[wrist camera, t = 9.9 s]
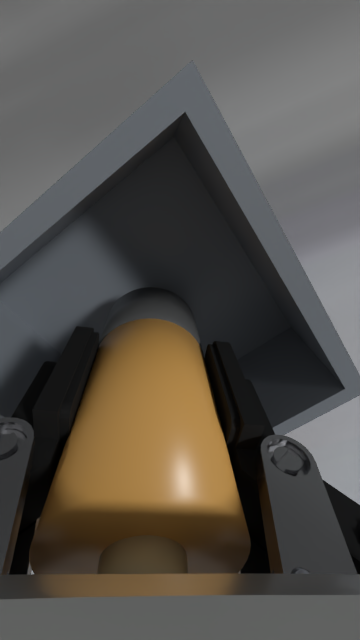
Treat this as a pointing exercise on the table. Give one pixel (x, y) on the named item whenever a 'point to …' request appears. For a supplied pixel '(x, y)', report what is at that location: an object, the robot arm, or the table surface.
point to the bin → (170, 258)
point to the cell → (144, 457)
